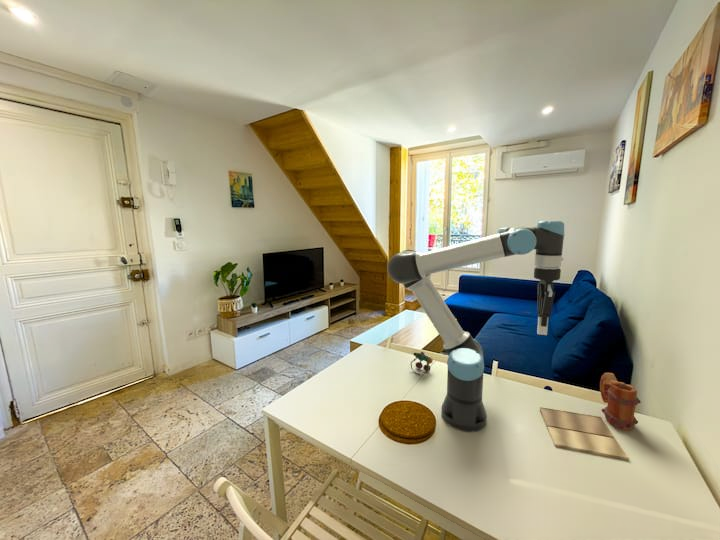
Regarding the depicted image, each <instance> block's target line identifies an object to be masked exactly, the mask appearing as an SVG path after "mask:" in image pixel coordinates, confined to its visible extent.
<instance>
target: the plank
mask: <svg viewBox="0 0 720 540" xmlns="http://www.w3.org/2000/svg"><path fill="white" fill-rule="evenodd" d="M539 412H540V415H541V417H542V418H543V421H544V423H545V427H546V428H547V426H548V427H554V428H559V429H565V430H571V431H576V432H582V433H588V434H593V435H599V436H604V437H610V438H615V436H614V435H613V433H612V431H611V430H610V429H609V427H608V426H607V424H606V423H605V420H604V419H603V418H602V416H597V415H592V414H585V413H578V412H572V411H566V410H561V409H560V410H559V409H554V408H547V407H541V406H540V407H539Z"/></svg>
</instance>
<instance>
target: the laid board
mask: <svg viewBox="0 0 720 540" xmlns="http://www.w3.org/2000/svg"><path fill="white" fill-rule="evenodd" d="M546 428H547V431H548V433H549V436H550V438H551V441H552V443H553V445H554V447H556V448H557V447H558V448H563V449H567V450H573V451H578V452H583V453H588V454H594V455H598V456H605V457H609V458H614V459H617V460H619V459H620V460H625V461H629V459H630V458H629V456H628V455H627V453H626V452H625V450H624V449H623V448H622V447H621V445H620V444H619V442H618V441H617V439H616V438H615V437H614V438H610V437H604V436H599V435H593V434H588V433H582V432H576V431H571V430H565V429H559V428H554V427H548V426H547V427H546Z"/></svg>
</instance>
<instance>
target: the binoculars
mask: <svg viewBox="0 0 720 540" xmlns="http://www.w3.org/2000/svg"><path fill="white" fill-rule="evenodd" d="M412 355H413V356H414V357H415V358H414V359H413V360H412V361H411V362H410V368H411V370H412V371H413V372H414V373H415V374H417V375H419V373H418V372H416V371H415V370H414V369H413V366H412V365H413V362H416V360H418V361H417V362H416V363H415V367H416V369H418V370H420V369H423V371H425V372H424V373H423V375H425V374H427V373H428V372H430V371H431V366H430V364H432V363H433V362H434V361H433V357H430V356H428V355H425V352H424V351H420V353H419V352H413V354H412ZM423 361H424V362H426V364H424V365H423V363H422V362H423Z"/></svg>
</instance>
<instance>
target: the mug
mask: <svg viewBox="0 0 720 540" xmlns="http://www.w3.org/2000/svg"><path fill="white" fill-rule="evenodd" d="M599 391H600V392H599V393H600V396H601V399H602V402H603V403H605V404H607V406H605V407H604V408H601V412H602V413H603V415H604V416H605V417H604V418H605V419H606V421H607V423H608V424H610V425H612V426H613V427H614V428H617V429H620V430H623V431H631V430H632V429H633V427H635V426H636V425H638V423H639V421H638V420H637V418H636V417H635V411H636V407H637V406H638V404H641V400H640V399H639V398H638V390H637V389H636V387H634V386H633V385H631V384H627V383H625V382H622V381H618V379H617V378H616V376H615V374H614V373H613V372H604V373H603V374H602V375H601V378H600V381H599Z"/></svg>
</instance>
